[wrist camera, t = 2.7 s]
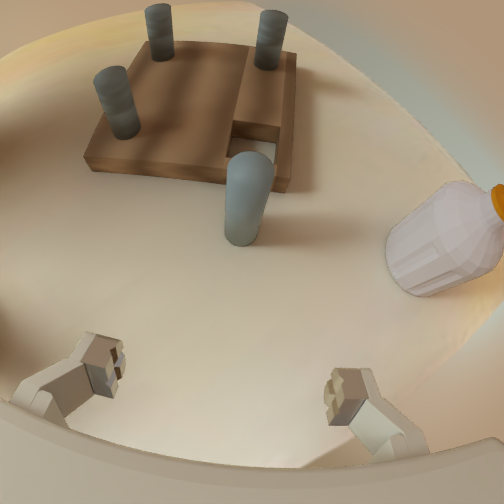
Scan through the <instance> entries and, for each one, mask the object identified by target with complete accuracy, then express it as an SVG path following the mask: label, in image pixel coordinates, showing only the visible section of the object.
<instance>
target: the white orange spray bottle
mask: <svg viewBox="0 0 504 504" xmlns="http://www.w3.org/2000/svg"><path fill="white" fill-rule="evenodd" d="M503 249H504V185H502V184H498V185H497V186H495V187H493V188H492V189H491V190H489V191H488V192H487V193H486V192H484V191H483V190H482V189H480V188H479V187H477V186H476V185H474V184H472V183H469V182H466V181H455V182H450V183H446V184H445V185H443V186H442V187H441V188H440V189H439V190H438V191H437V192H435V193H434V194H433V195H432V196H431V197H430V198H428V199H427V200H426V201H425V202H424V203H422V204H421V205H420V206H419V207H418V208H417V209H415V210H414V211H413V212H412V213H411V214H409V215H408V216H407V217H406V218H404V219H403V220H402V221H401V222H400V223H398V224H397V225H396V226H395V227H393V228H392V230H391V232H390V234H389V236H388V238H387V242H386V252H385V254H386V259H387V265H388V268H389V270H390V272H391V274H392V276H393V278H394V280H395V281H396V282H397V283H398V284H399V285H400V286H401V288H402V289H403V290H405V291H407V292H409V293H411V294H413V295H414V296H423V297H427V296H430V295H433V294H436V293H438V292H441V291H444V290H447V289H449V288H452V287H455V286H457V285H460V284H462V283H465V282H467V281H470V280H473V279H475V278H477V277H480V276H482V275H484V274H486V273H488V272H490V271H492V270H493V268H494V267H495V266H496V265H497V263H498V262H499V260H500V259H501V257H502V255H503Z"/></svg>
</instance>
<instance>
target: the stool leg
mask: <svg viewBox="0 0 504 504" xmlns="http://www.w3.org/2000/svg"><path fill="white" fill-rule="evenodd" d="M274 175H275V170H274V166H273V164H272V162H271V161H270V160H269V159H268V158H267V157H266V156H265V155H263V154H261V153H258V152H254V151H245V152H241V153H239V154H237V155H235V156H234V157H233V158H232V159H231V160H230V161H229V163H228V166H227V182H226V206H225V236H226V238H227V240H228V241H229V242H230V243H231V244H233V245H235V246H240V247H242V246H247V245H249V244H251V243H252V242H253V241H254V240H255V238H256V236H257V232H258V229H259V226H260V222H261V219H262V215H263V212H264V209H265V205H266V202H267V199H268V195H269V192H270V189H271V185H272V182H273V179H274Z"/></svg>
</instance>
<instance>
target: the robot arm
mask: <svg viewBox="0 0 504 504" xmlns="http://www.w3.org/2000/svg"><path fill="white" fill-rule="evenodd" d="M122 349H123V343H122V341H121V340H118V339H114V338H110V337H106V336H103V335H99V334H94V333H91V332H86V333H84V334H83V336H82V338H81V339H80V341H79V342H78V344H77V346H76V347H75V349H74V351H73V352H72V354H71V356H70V357H69V359H68V358H64V359H62V360H61V361H59V362H57V363H55V364H53V365H51V366H49V367H47V368H45V369H43V370H41V371H39V372H37V373H36V374H34V375H32V376H30V377H28V378H26V379H24V380H22V381H21V383H20V385H19V386H18V388H17V389H16V391H15V393H14V394H13V396H12V398H11V399H10V401H9V402H7V401H5V400H3V399H1V398H0V504H504V443H503V442H501V441H500V440H498V439H496V438H494V437H490V438H486V439H483V440H480V441H477V442H473V443H470V444H467V445H463V446H460V447H456V448H453V449H449V450H444V451H440V452H436V453H431V454H430V452H429V449H428V446H427V443H426V440H425V437H424V435H423V432H422V430H421V429H420V428H418V427H417V426H416V425H415V424H414V423H413V422H411V421H410V420H409V419H408V418H407V417H405V416H404V415H403V414H402V413H401V412H400V411H398V410H397V409H396V408H395V407H394V406H393V405H392V404H390V403H389V402H388V401H387V400H386V399H382V398H381V395H380V393H379V390H378V387H377V384H376V381H375V378H374V376H373V373H372V370H371V369H370V368H358V369H357V368H334V369H333V371H332V373H331V378H332V379H330V380H329V381H327V383H326V385H325V389H324V403H325V404H326V405H327V406H328V407H329V408H328V410H327V412H326V414H327V420H328V425H329V426H348V427H349V428H350V430H351V431H352V432H353V433H354V434H355V436H356V437H357V438H358V439H359V440H360V442H361V443H362V444H363V445H364V447H365V448H366V449H367V450H368V451H369V452H370V454H371V455H372V457H371V458H370V459H369V461H367V462H366V463H365V464H364V465H355V466H343V467H325V468H265V467H248V466H235V465H225V464H216V463H208V462H201V461H194V460H188V459H182V458H176V457H171V456H165V455H160V454H156V453H151V452H147V451H142V450H138V449H134V448H130V447H126V446H123V445H119V444H115V443H112V442H108V441H105V440H102V439H98V438H95V437H92V436H89V435H86V434H83V433H80V432H77V431H75V430H72V429H70V428H69V426H68V424H67V423H66V421H65V419H64V418H65V417H66V416H67V415H69V414H70V413H71V412H73V411H74V410H75V409H76V408H78V407H79V406H80V405H82V404H83V403H84V402H86V401H87V400H88V399H89V398H91V397H92V396H93V395H94V394H97V395H100V396H104V397H108V398H113V399H114V396H115V394H116V391H117V389H118V382H117V381H118V380H119V379H121V378H122V376H123V374H124V370H125V355H124V354H123V353H122Z"/></svg>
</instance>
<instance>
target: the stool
mask: <svg viewBox="0 0 504 504" xmlns="http://www.w3.org/2000/svg"><path fill="white" fill-rule="evenodd" d="M145 18H146V25H147V32H148V38H149V41H146V42H145V43H144V45H143V46H142V48H141V49H140V51H139V52H138V54H137V56H136V57H135V59H134V60H133V62H132V64H131V65H130V67H129V68H128V70H127V72H126V69H125V68H124V67H122V66H111V67H108V68H106V69H104V70H102V71H100V72H99V73H98V74H97V75H96V76H95V78H94V81H93V83H94V86H95V88H96V91H97V94H98V96H99V99H100V102H101V104H102V107H103V109H104V114H103V115H102V117H101V119H100V122H99V124H98V126H97V128H96V130H95V132H94V134H93V136H92V138H91V140H90V143H89V145H88V147H87V149H86V152H85V154H84V156H83V157H84V159H85V160H86V162H87V164H88V165H89V167H90V169H91V170H92V171H97V172H111V173H124V174H135V175H146V176H157V177H166V178H176V179H185V180H193V181H202V182H210V183H217V184H225V185H226V182H227V166H228V163H229V161H230V160H231V159H232V158H228V153H229V148H230V143H231V138H232V137H238V138H245V139H252V140H259V141H266V142H272V143H276V151H275V161H274V164H273V166H274V170H275V175H274V179H273V182H272V185H271V189H270V191H273V192H279V193H285V191H286V188H287V186H288V183H289V181H290V174H291V159H292V142H293V124H294V105H295V82H296V56H297V54H296V53H291V52H286V51H281V50H282V45H283V40H284V35H285V31H286V26H287V22H288V16H287V14H285V13H283V12H281V11H277V10H265V11H262V12H261V15H260V22H259V29H258V36H257V43H256V47H253V46H245V45H236V44H226V43H214V42H197V41H173V29H172V17H171V6H170V5H169V4H164V3H163V4H155V5H152V6H149V7H148V8H146V9H145Z"/></svg>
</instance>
